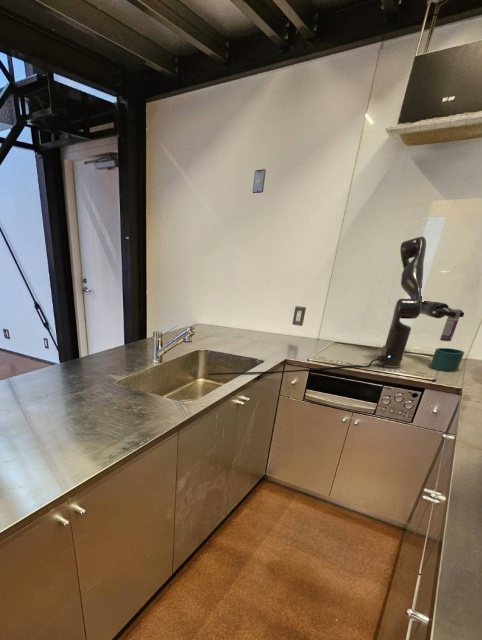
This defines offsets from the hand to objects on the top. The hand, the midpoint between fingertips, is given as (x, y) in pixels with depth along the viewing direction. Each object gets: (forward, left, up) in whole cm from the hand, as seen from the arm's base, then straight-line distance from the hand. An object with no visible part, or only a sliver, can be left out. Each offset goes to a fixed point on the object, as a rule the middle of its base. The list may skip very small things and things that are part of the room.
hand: (459, 314), depth 186 cm
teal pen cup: (-1, -4, -26) cm, 26 cm away
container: (-1, +3, -13) cm, 14 cm away
